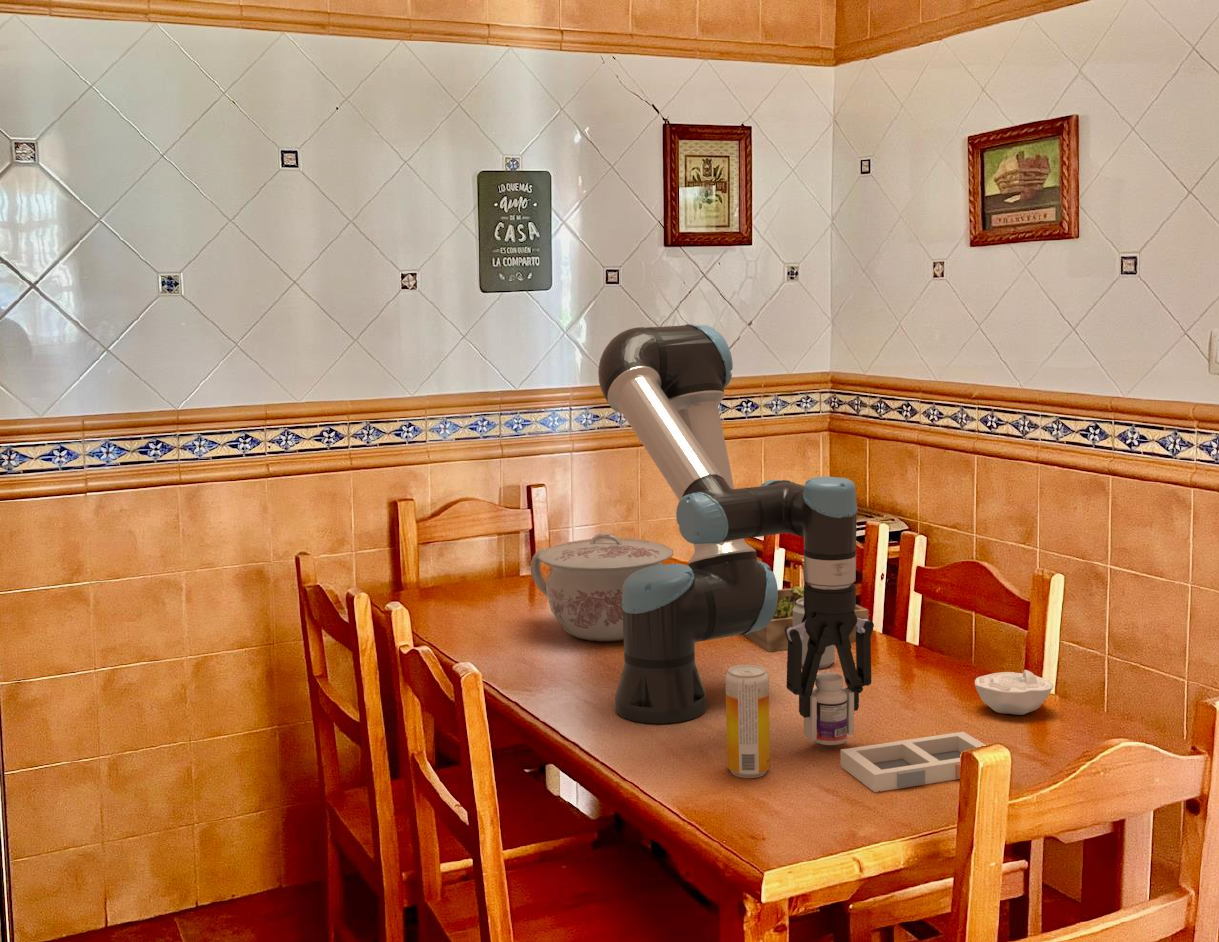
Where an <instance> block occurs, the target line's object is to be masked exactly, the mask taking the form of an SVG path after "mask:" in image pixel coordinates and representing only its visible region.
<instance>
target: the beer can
mask: <svg viewBox="0 0 1219 942" xmlns="http://www.w3.org/2000/svg"><path fill="white" fill-rule="evenodd" d="M769 680H770V679H769V675H768V674H767V671H766V668H765V667H763V666H761V665H758V664H757V665H756V664H738V665H734V666H733V665H732V666H730V667H729V668H728V670H727V674H726V675H725V714H726V716H725V717H726V719H725V720H726V721H725V722H726V730H725V731H726V762H727V763H726V767H727V769H728V770H730V772H731V774H732V775H734V776H735V777H738V778H741V779H742V778H743V779H754V778H755V779H757V778H760V777H763V776H765V775H766V773H767V771H769V769H770V767H771V749H770V746H771V745H770V744H771V741H770V740H771V739H770V735H771V734H770V683H769Z"/></svg>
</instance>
